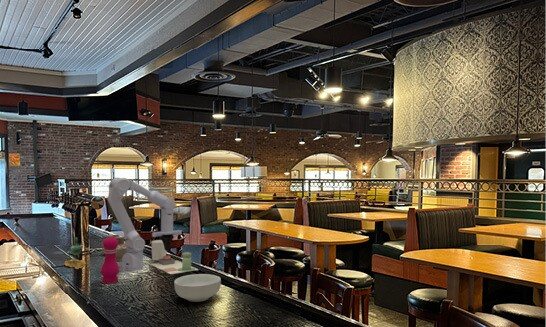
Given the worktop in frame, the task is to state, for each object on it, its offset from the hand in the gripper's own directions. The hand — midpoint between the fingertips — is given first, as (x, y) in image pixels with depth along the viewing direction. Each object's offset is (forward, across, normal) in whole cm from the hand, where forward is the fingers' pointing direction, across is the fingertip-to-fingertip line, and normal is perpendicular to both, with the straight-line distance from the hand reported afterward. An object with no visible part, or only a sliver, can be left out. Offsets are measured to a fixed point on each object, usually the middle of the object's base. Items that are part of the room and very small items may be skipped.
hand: (166, 250), depth 202 cm
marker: (+6, +2, -17) cm, 18 cm away
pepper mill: (+8, -31, -14) cm, 35 cm away
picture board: (+8, 0, -8) cm, 11 cm away
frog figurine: (+8, -36, +26) cm, 45 cm away
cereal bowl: (+8, -12, -55) cm, 57 cm away
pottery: (+8, -14, +33) cm, 37 cm away
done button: (+5, 0, 0) cm, 5 cm away
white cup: (+8, +1, +12) cm, 14 cm away
